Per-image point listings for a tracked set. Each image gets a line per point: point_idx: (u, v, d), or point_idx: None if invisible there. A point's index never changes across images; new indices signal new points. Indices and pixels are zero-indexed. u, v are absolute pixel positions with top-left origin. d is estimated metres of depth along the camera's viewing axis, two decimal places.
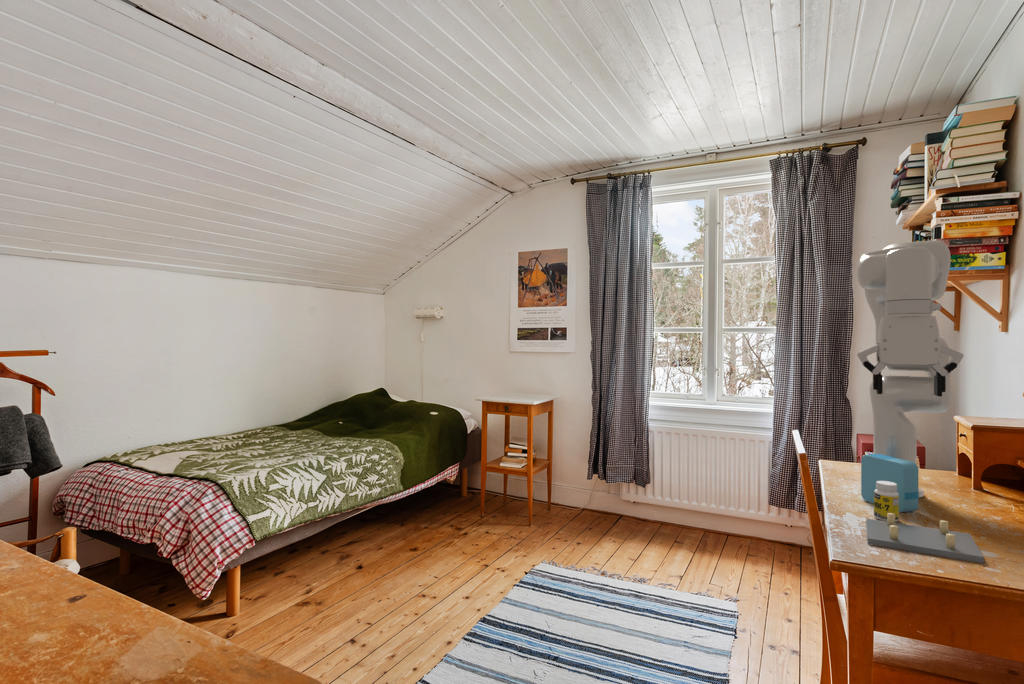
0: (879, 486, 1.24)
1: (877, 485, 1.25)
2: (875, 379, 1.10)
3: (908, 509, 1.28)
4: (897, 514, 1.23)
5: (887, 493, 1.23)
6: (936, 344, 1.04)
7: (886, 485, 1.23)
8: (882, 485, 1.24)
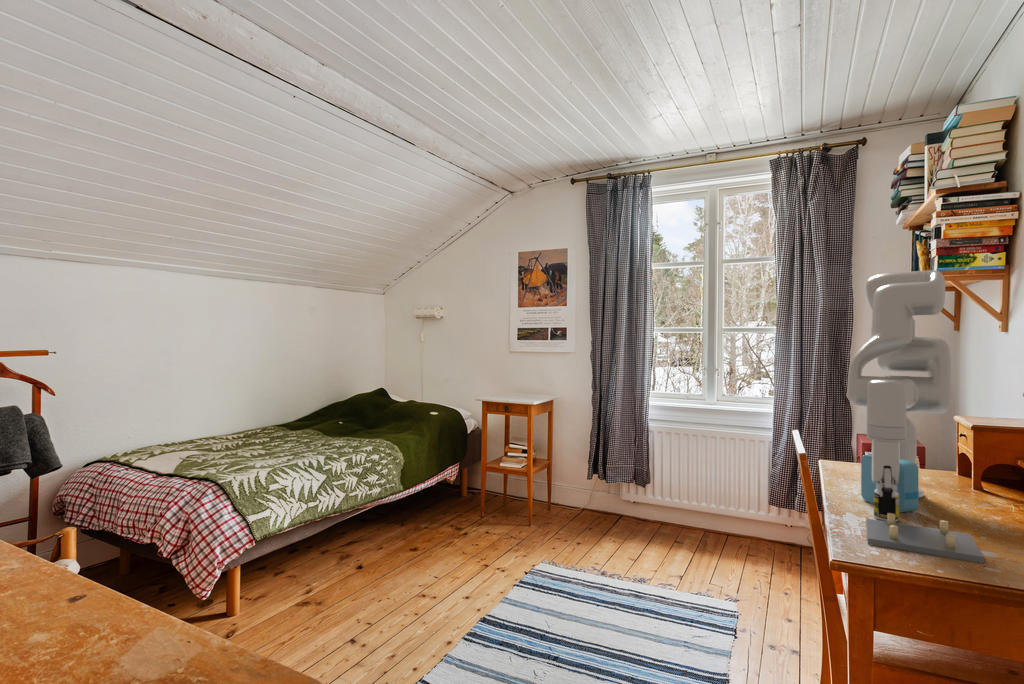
0: (879, 486, 1.24)
1: (877, 485, 1.25)
2: None
3: (908, 509, 1.28)
4: (897, 514, 1.23)
5: None
6: None
7: None
8: None
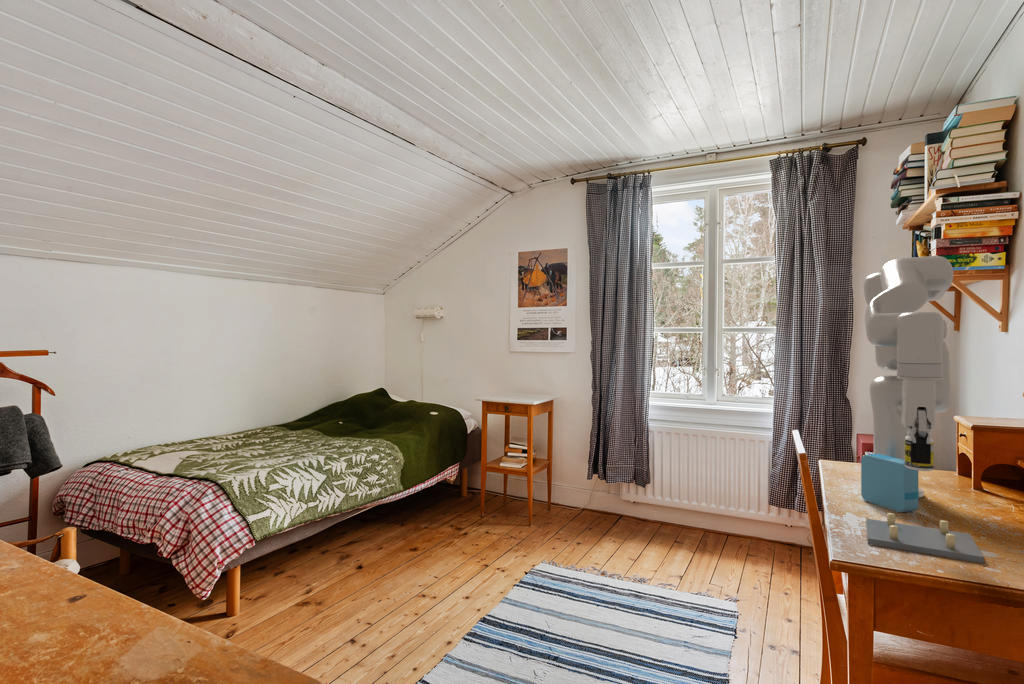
0: (911, 431, 1.10)
1: (909, 431, 1.11)
2: None
3: (908, 509, 1.28)
4: (932, 462, 1.09)
5: None
6: None
7: None
8: None
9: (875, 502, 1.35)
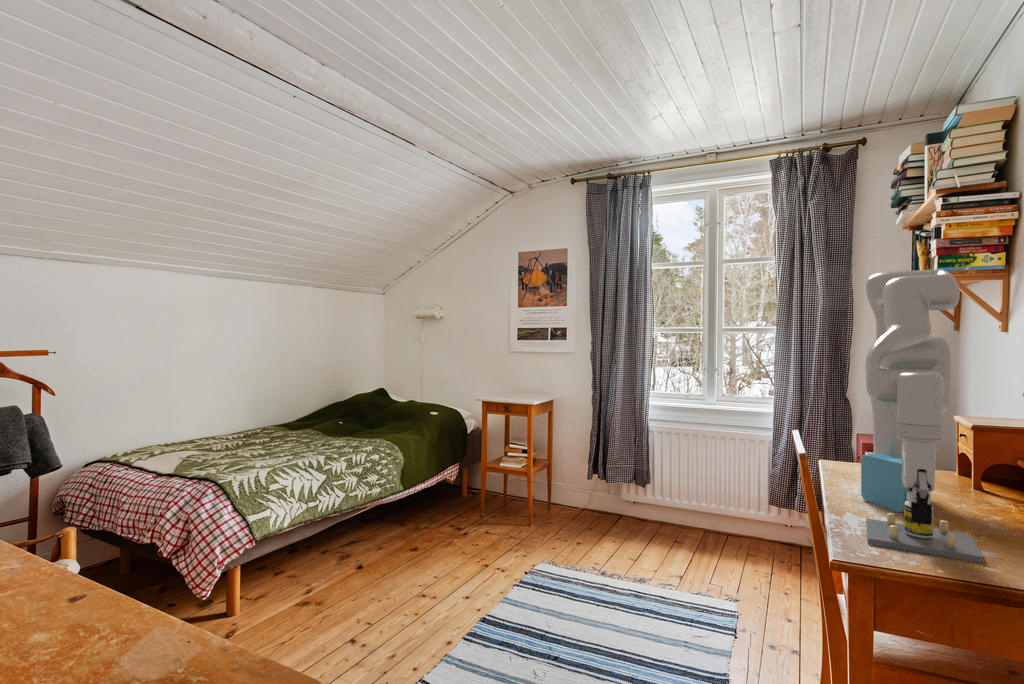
0: (910, 497, 1.11)
1: (908, 496, 1.11)
2: None
3: None
4: (931, 530, 1.09)
5: None
6: None
7: None
8: None
9: (875, 502, 1.35)
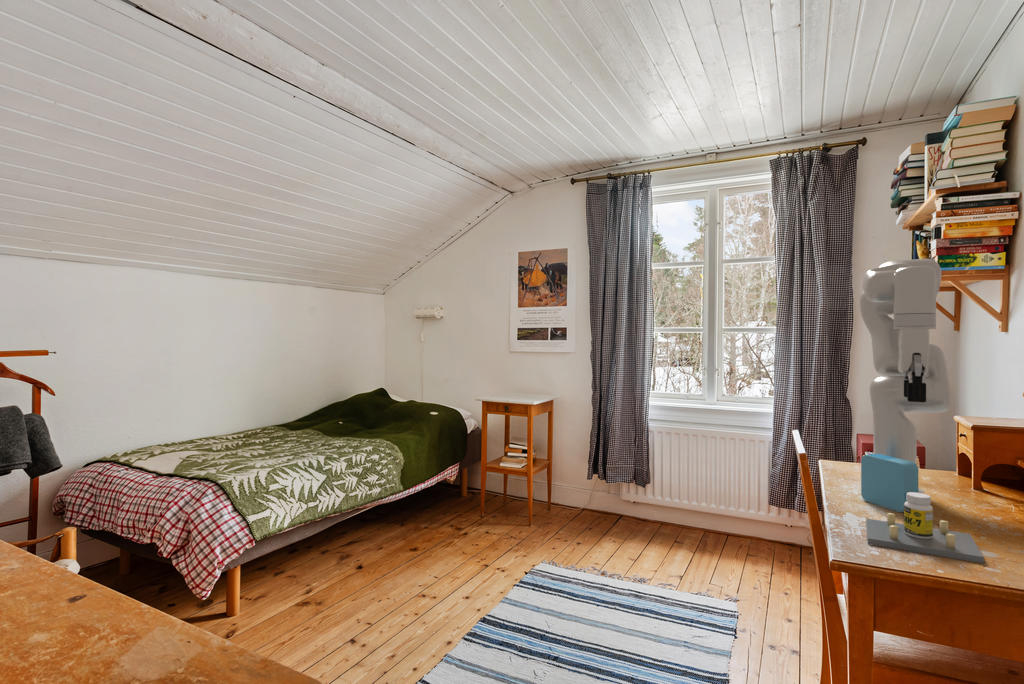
0: (909, 498, 1.10)
1: (907, 497, 1.11)
2: None
3: None
4: (931, 530, 1.09)
5: (919, 506, 1.09)
6: None
7: (917, 498, 1.09)
8: (913, 497, 1.10)
9: (875, 502, 1.35)
